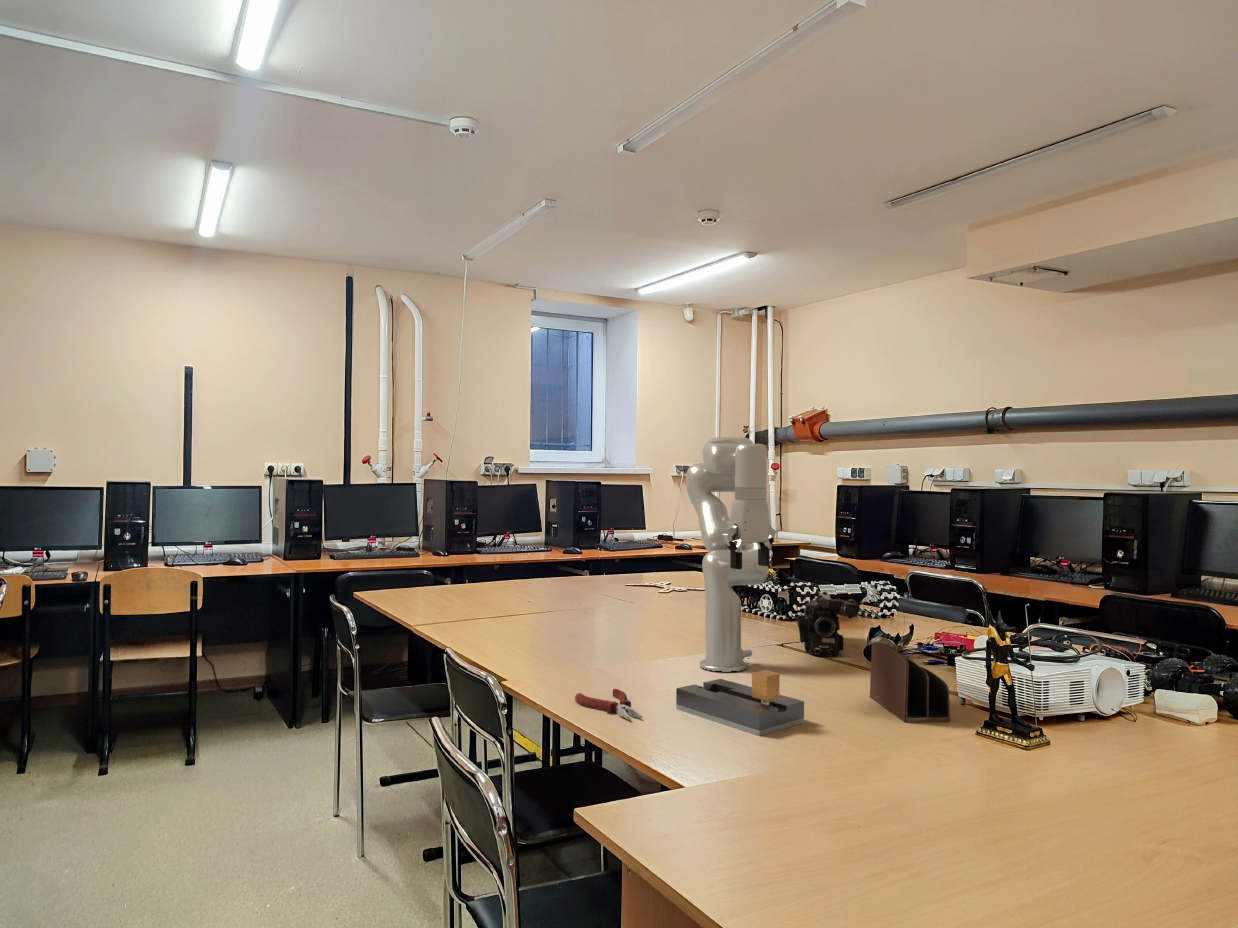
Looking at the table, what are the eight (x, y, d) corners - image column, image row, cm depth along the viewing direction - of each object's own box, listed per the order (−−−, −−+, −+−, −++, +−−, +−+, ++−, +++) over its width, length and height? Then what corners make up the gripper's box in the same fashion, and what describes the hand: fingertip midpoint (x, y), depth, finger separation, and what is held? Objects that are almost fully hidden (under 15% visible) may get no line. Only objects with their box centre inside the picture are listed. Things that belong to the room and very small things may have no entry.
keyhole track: (720, 698, 188) (720, 678, 188) (804, 722, 169) (804, 700, 170) (676, 708, 179) (676, 688, 179) (759, 735, 161) (759, 712, 161)
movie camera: (863, 658, 227) (860, 595, 228) (798, 658, 231) (795, 596, 232) (857, 641, 257) (854, 586, 258) (800, 641, 261) (797, 586, 262)
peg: (764, 714, 171) (764, 669, 171) (779, 719, 168) (779, 673, 168) (751, 718, 169) (751, 672, 169) (766, 723, 166) (766, 676, 166)
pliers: (611, 727, 167) (611, 714, 167) (572, 703, 185) (572, 691, 185) (659, 720, 172) (660, 708, 172) (617, 697, 190) (617, 686, 190)
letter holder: (904, 723, 170) (904, 656, 170) (869, 697, 190) (869, 637, 190) (950, 722, 171) (950, 655, 171) (910, 697, 190) (910, 637, 191)
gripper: (762, 494, 202) (762, 563, 202) (713, 495, 191) (713, 568, 191) (786, 495, 196) (786, 566, 196) (737, 496, 185) (736, 571, 185)
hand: (750, 567), depth 193 cm, fingers open, 9 cm apart
